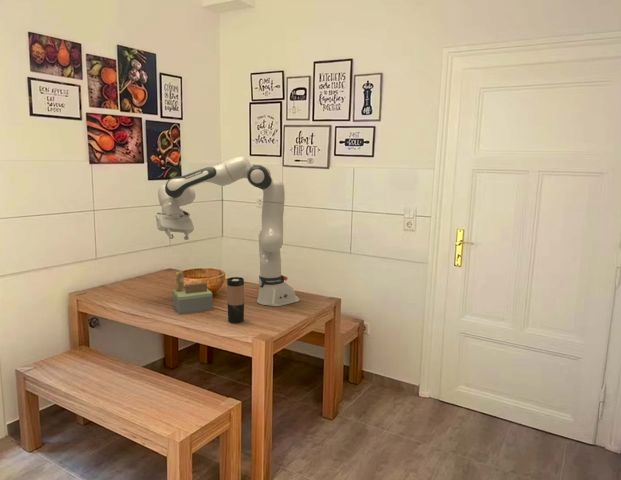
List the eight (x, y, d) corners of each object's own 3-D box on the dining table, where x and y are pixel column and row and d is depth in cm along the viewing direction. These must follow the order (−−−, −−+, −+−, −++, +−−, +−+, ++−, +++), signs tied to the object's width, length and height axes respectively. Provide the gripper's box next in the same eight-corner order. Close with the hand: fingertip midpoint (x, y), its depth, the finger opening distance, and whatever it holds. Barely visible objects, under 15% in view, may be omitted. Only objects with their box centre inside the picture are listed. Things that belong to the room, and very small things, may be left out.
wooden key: (183, 305, 235) (182, 271, 232) (184, 307, 232) (183, 273, 229) (177, 306, 233) (175, 272, 230) (178, 308, 231) (177, 273, 228)
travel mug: (247, 319, 220) (246, 278, 216) (239, 324, 213) (238, 282, 209) (232, 317, 222) (232, 276, 219) (224, 322, 215) (223, 280, 212)
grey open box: (204, 303, 242) (204, 288, 240) (212, 311, 230) (212, 296, 228) (173, 307, 234) (172, 292, 233) (179, 316, 222) (179, 300, 221)
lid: (204, 288, 240) (204, 278, 239) (212, 296, 228) (212, 285, 227) (172, 292, 233) (172, 281, 232) (179, 300, 221) (178, 289, 220)
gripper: (158, 209, 225) (165, 234, 221) (191, 213, 242) (199, 237, 237) (151, 215, 228) (157, 240, 224) (184, 219, 245) (191, 243, 241)
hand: (179, 239), depth 231 cm, fingers open, 8 cm apart
